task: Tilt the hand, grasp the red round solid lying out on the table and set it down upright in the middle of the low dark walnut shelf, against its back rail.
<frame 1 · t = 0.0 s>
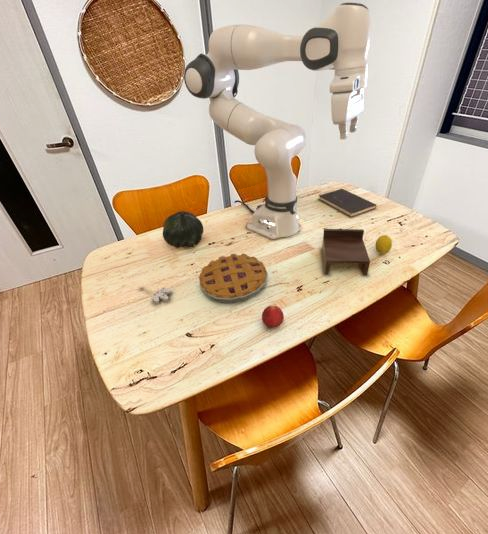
hand: (348, 135, 85), 39 cm above the table, tool pointing down, fingers open, 8 cm apart
squash: (186, 243, 111), on the table
hardcover book: (346, 204, 135), on the table
pie: (234, 283, 91), on the table
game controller: (155, 294, 87), on the table
shelf: (342, 261, 99), on the table
red round solid: (273, 326, 77), on the table
lemon: (381, 254, 102), on the table
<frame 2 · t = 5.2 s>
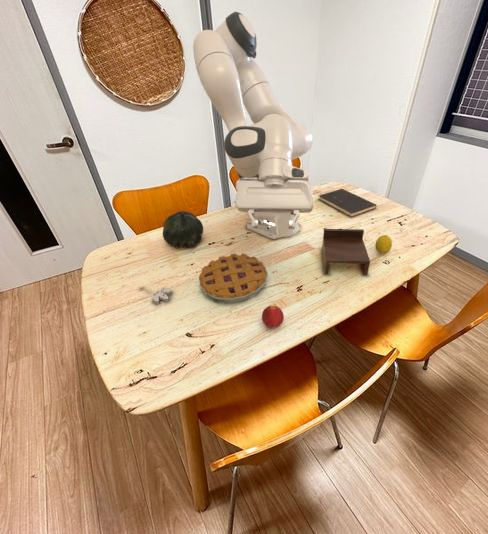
hand: (273, 228, 71), 24 cm above the table, tool tilted 45°, fingers open, 8 cm apart
nothing on the table moved.
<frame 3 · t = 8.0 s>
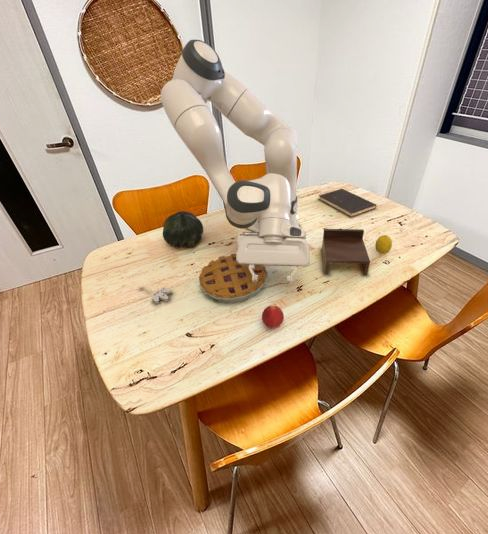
hand: (272, 282, 75), 10 cm above the table, tool tilted 45°, fingers open, 8 cm apart
nothing on the table moved.
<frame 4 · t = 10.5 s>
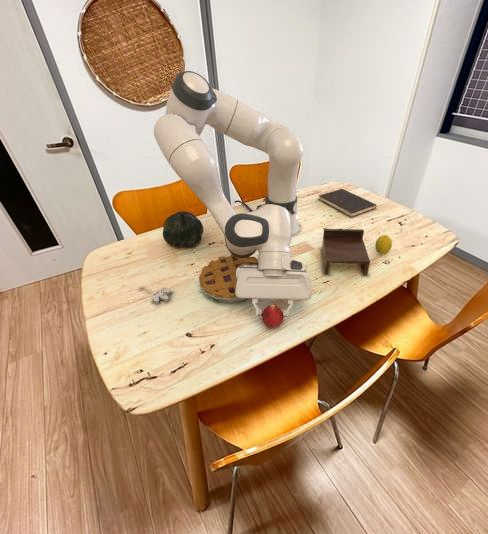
hand: (272, 316, 73), 4 cm above the table, tool tilted 45°, fingers closed on red round solid, 6 cm apart
red round solid: (273, 326, 77), on the table, touching gripper
everything else where it was.
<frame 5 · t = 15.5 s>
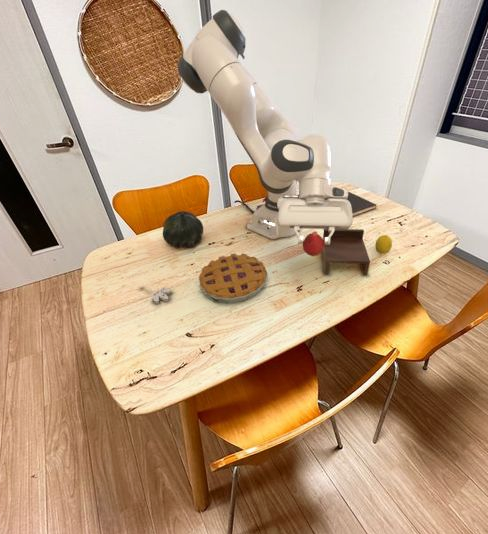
hand: (313, 244, 75), 18 cm above the table, tool tilted 45°, fingers closed on red round solid, 6 cm apart
red round solid: (312, 256, 78), point 14 cm above the table, touching gripper
everything else where it was.
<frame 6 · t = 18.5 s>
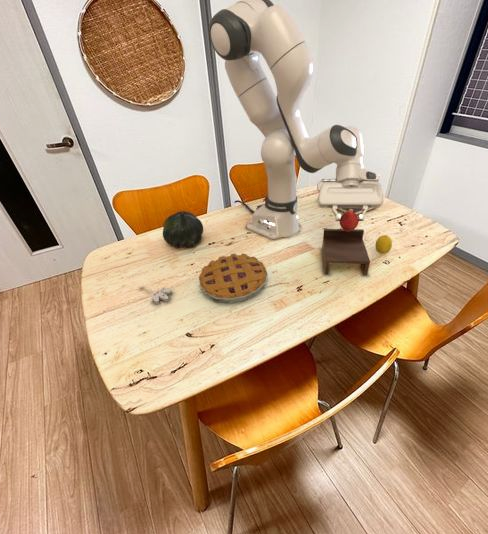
hand: (349, 220, 88), 17 cm above the table, tool tilted 45°, fingers closed on red round solid, 6 cm apart
red round solid: (347, 232, 91), point 12 cm above the table, touching gripper
everything else where it was.
when the fingers open (10 cm above the table, at t = 20.9 s): red round solid stays where it is, resting on shelf.
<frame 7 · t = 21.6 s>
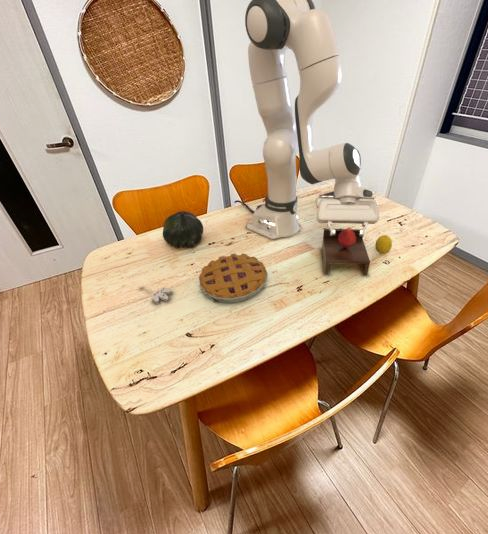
hand: (347, 235, 91), 11 cm above the table, tool tilted 45°, fingers open, 8 cm apart
red round solid: (345, 248, 95), point 6 cm above the table, touching shelf
everything else where it was.
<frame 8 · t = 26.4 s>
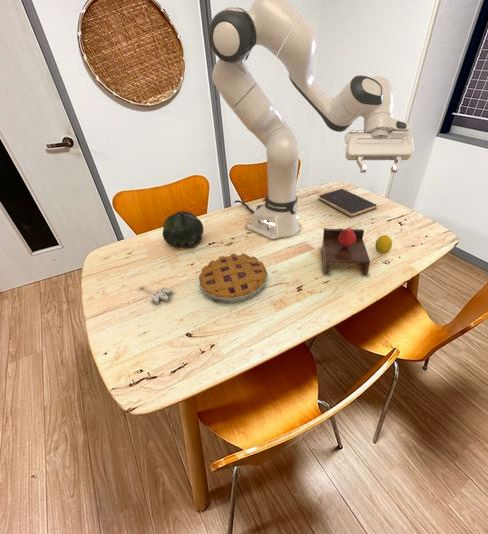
hand: (378, 172, 86), 29 cm above the table, tool tilted 45°, fingers open, 8 cm apart
nothing on the table moved.
at the end: red round solid inside the target area on the shelf (0.1 cm from its centre), point 5.8 cm above the shelf's base; red round solid tilted 0°; the gripper is holding nothing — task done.
